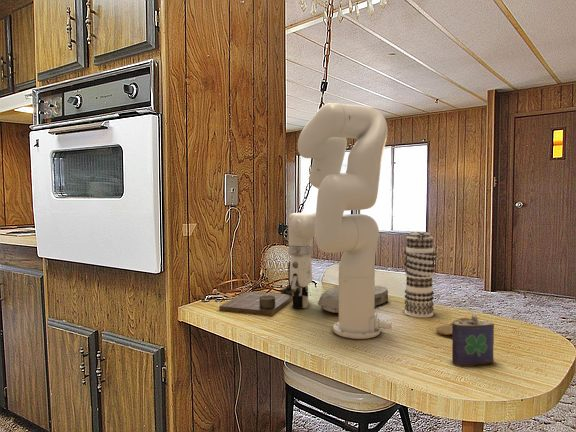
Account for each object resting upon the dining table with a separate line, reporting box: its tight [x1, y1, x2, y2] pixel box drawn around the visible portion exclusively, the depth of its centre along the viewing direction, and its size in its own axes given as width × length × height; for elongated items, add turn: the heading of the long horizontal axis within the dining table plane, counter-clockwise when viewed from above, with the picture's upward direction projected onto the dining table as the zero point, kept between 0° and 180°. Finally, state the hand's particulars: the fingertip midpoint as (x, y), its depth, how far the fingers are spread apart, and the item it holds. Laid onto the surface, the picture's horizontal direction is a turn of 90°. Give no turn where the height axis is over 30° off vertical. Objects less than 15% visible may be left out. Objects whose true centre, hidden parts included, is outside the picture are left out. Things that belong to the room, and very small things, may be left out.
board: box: [218, 291, 293, 317], centre depth 138 cm, size 18×20×2 cm
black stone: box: [259, 295, 275, 309], centre depth 130 cm, size 5×5×3 cm
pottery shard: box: [435, 317, 471, 336], centre depth 109 cm, size 11×4×10 cm
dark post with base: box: [279, 260, 299, 295], centre depth 154 cm, size 9×8×12 cm
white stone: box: [301, 295, 309, 309], centre depth 136 cm, size 5×5×3 cm
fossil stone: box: [317, 285, 389, 314], centre depth 136 cm, size 28×15×5 cm, turn 131°
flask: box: [451, 314, 495, 367], centre depth 90 cm, size 9×3×11 cm, turn 95°
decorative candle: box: [403, 231, 437, 319], centre depth 126 cm, size 9×9×25 cm
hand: (300, 304), depth 136 cm, fingers closed on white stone, 5 cm apart
